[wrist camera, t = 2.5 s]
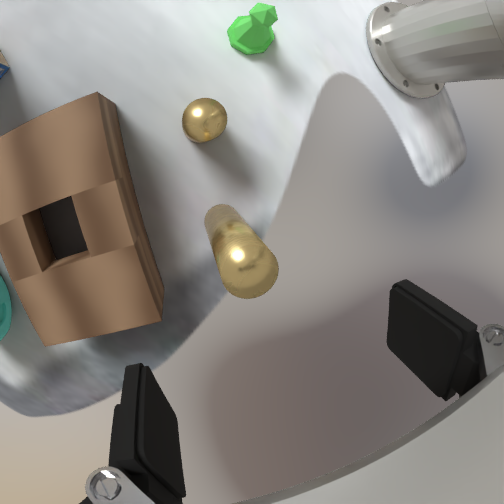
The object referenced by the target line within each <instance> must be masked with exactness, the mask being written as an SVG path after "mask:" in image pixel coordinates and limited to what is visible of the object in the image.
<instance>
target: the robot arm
mask: <svg viewBox="0 0 504 504" xmlns="http://www.w3.org/2000/svg"><path fill="white" fill-rule="evenodd" d="M366 35H367V41H368V45H369V48H370V51H371V54H372V56H373V58H374V60H375V62H376V64H377V66H378V67H379V69H380V70H381V72H382V73H383V75H384V76H385V77H386V78H387V79H388V80H389V81H390V83H392V84H393V85H394V86H395V87H396V88H397V89H399V90H400V91H402V92H403V93H405V94H407V95H409V96H412V97H416V98H428V97H433V96H435V95H436V94H438V93H439V92H440V91H441V90H442V88H443V86H444V85H445V83H446V82H457V81H470V80H487V79H488V80H489V79H504V0H423V1H421V2H418V3H416V4H413V5H411V6H407V5H404V4H401V3H396V2H387V3H384V4H382V5H380V6H378V7H376V8H375V9H374V10H373V11H372V12H371V13H370V15H369V17H368V20H367V25H366ZM476 330H477V325H476V324H475V323H473V322H471V321H470V320H469V319H467V318H466V317H464V316H463V315H461V314H460V313H458V312H457V311H455V310H454V309H452V308H451V307H449V306H448V305H446V304H445V303H443V302H442V301H440V300H439V299H437V298H436V297H434V296H432V295H431V294H429V293H428V292H426V291H425V290H423V289H421V288H420V287H418V286H417V285H415V284H413V283H412V282H410V281H409V280H407V279H406V280H402V281H400V282H397V283H395V284H394V285H393V286H392V289H391V290H390V298H389V317H388V332H387V345H388V347H389V349H390V350H391V351H392V352H393V353H394V354H395V355H396V356H397V357H398V358H399V359H400V360H401V361H402V362H403V363H404V364H405V365H406V366H407V367H408V368H409V369H410V370H411V371H412V372H413V373H414V374H415V375H416V376H417V377H418V378H419V379H420V380H421V381H422V382H423V383H424V384H425V385H426V386H427V387H428V388H429V389H430V390H431V391H432V392H433V393H434V394H435V395H437V396H438V397H442V398H443V399H444V400H445V401H447V400H448V399H450V398H451V397H453V396H454V395H455V393H456V392H457V393H458V394H459V399H458V400H456V401H455V402H454V403H452V404H451V405H450V406H448V407H447V408H445V409H444V410H443V411H441V412H440V413H438V414H437V415H435V416H434V417H433V418H431V419H429V420H428V421H426V422H425V423H424V424H422V425H420V426H418V427H417V428H415V429H414V430H412V431H410V432H409V433H407V434H405V435H404V436H402V437H401V438H399V439H397V440H395V441H394V442H392V443H390V444H388V445H386V446H384V447H383V448H381V449H379V450H377V451H375V452H373V453H371V454H370V455H367V456H365V457H363V458H361V459H359V460H357V461H355V462H353V463H351V464H348V465H346V466H344V467H341V468H339V469H337V470H335V471H332V472H330V473H327V474H325V475H322V476H320V477H317V478H315V479H312V480H310V481H307V482H304V483H301V484H299V485H296V486H293V487H290V488H287V489H284V490H281V491H277V492H274V493H271V494H267V495H264V496H260V497H256V498H253V499H249V500H246V501H241V502H237V503H233V504H504V327H503V326H501V325H498V324H489V325H486V326H484V327H482V329H481V330H480V332H479V333H478V332H477V331H476ZM85 489H86V494H87V495H88V496H87V497H86V498H85V499H84V500H83V501H82V502H81V503H79V504H183V503H182V498H183V497H185V496H186V491H185V484H184V477H183V469H182V460H181V452H180V443H179V432H178V422H177V418H176V415H175V413H174V411H173V409H172V407H171V406H170V404H169V402H168V401H167V399H166V397H165V395H164V394H163V392H162V390H161V388H160V387H159V384H158V383H157V381H156V379H155V377H154V375H153V373H152V371H151V369H150V368H149V366H144V365H143V364H142V363H138V364H134V365H129V366H126V368H125V374H124V381H123V388H122V396H121V404H117V405H116V406H115V409H114V417H113V425H112V433H111V442H110V454H109V466H108V467H101V468H98V469H97V470H95V471H93V472H92V473H91V474H90V475H89V477H88V479H87V481H86V486H85Z"/></svg>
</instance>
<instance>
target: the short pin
mask: <svg viewBox="0 0 504 504" xmlns="http://www.w3.org/2000/svg"><path fill="white" fill-rule="evenodd" d="M226 124H227V114H226V111H225V109H224V107H223V106H222V105H221V104H220V103H219V102H218V101H216V100H213V99H210V98H201V99H197V100H195V101H193V102H192V103H190V104H189V105H188V106H187V108H186V109H185V111H184V113H183V118H182V125H183V131H184V134H185V135H186V136H187V138H188V139H190V140H191V141H194V142H197V143H203V142H207V141H210V140H212V139H214V138H216V137H218V136H219V135H220V134H221V133H222V132H223V131H224V129H225V127H226Z"/></svg>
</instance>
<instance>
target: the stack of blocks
mask: <svg viewBox="0 0 504 504" xmlns="http://www.w3.org/2000/svg"><path fill="white" fill-rule="evenodd" d="M9 68H10V67H9V65H8V64H7V62H6V60H5V58H4V57H3V55H2V53H1V51H0V78H1V77H2V76H3V75H4V74H5V72H6V71H7V70H8V69H9Z"/></svg>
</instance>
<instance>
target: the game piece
mask: <svg viewBox="0 0 504 504" xmlns="http://www.w3.org/2000/svg"><path fill="white" fill-rule="evenodd" d="M249 13H250V15H249V16H241V17H238V18H237V19H236V20H235V21H234V22H233V24H232V25H231V26H230V27H229V28H228V31H227V33H228V36H229V40H230V44H231V46H232V47H234V48H235V49H237V50H239V51H241V52H242V53H244V54H246V55H249V54H255V53H263V52H264V51H265V50H266V49H267V48H268V46H269V45H270V44H271V42H272V41H273V40H274V38H275V37H274V34H273V30H272V27H271V25H272V24H273V23H274V22H275V21H277V20H278V18H277V14H276V10H275V6H271V5H267V4H262V3H257V4H256V5H255V6H254V7H253V8H252V9H251V10H250V11H249Z"/></svg>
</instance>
